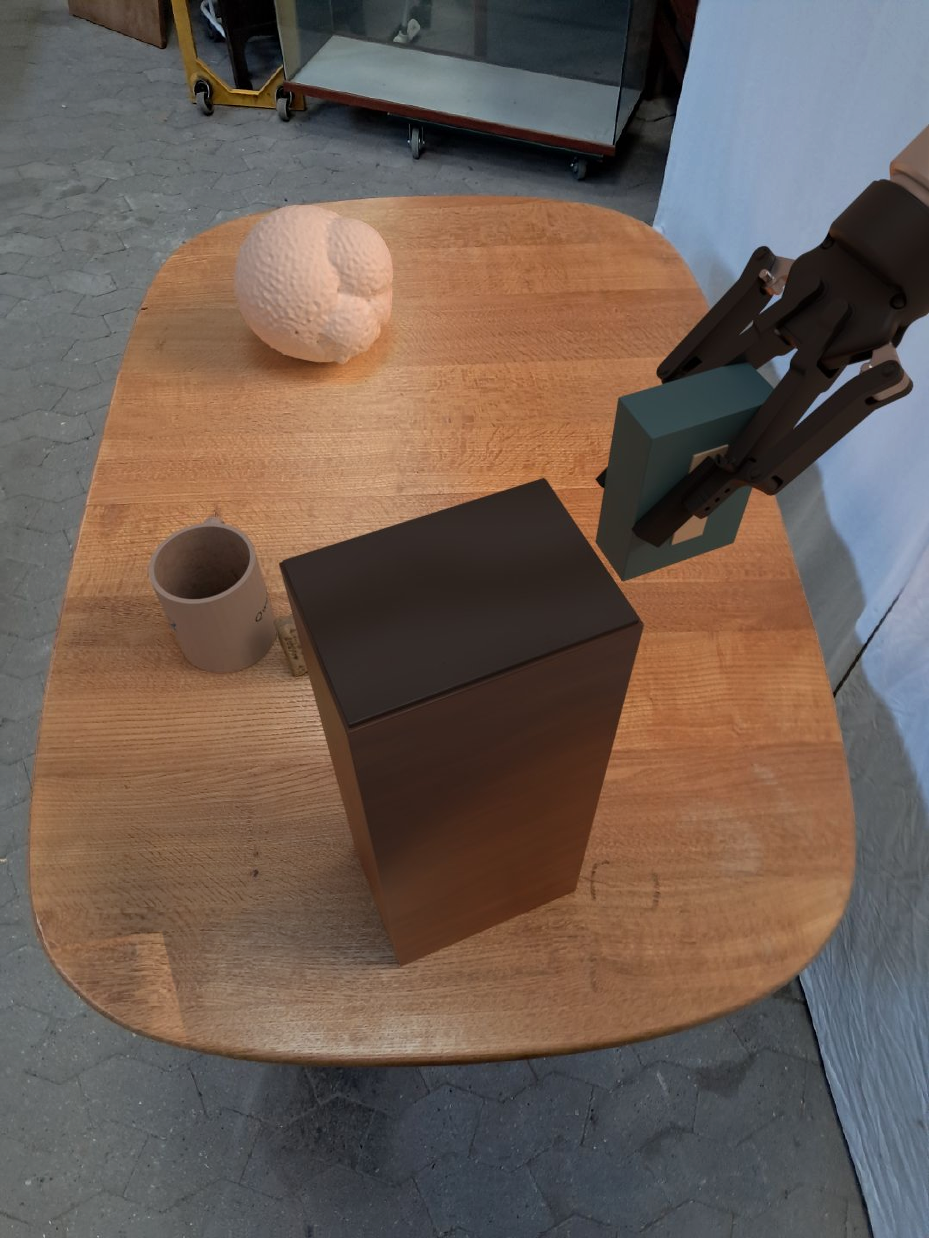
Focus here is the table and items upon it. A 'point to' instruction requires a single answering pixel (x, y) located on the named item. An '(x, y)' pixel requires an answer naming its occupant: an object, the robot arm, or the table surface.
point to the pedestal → (466, 705)
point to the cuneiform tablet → (290, 644)
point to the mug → (214, 596)
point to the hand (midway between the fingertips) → (627, 512)
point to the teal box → (674, 463)
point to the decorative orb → (314, 283)
